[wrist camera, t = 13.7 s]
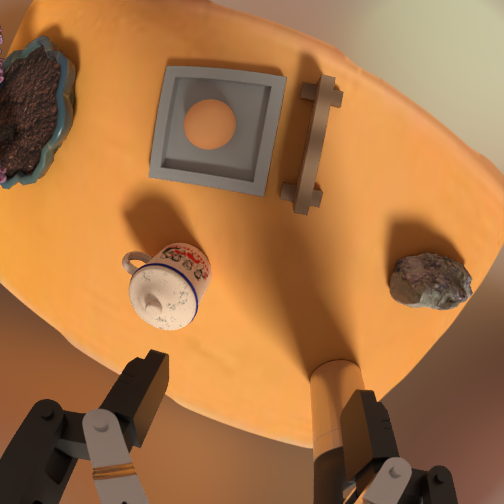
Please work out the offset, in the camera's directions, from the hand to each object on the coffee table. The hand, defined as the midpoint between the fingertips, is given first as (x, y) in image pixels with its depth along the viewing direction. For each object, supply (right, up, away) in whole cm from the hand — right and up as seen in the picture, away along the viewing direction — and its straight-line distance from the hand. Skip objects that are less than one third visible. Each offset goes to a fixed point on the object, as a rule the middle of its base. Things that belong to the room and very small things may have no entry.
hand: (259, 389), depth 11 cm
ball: (-5, +20, +19) cm, 28 cm away
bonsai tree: (-39, +27, +25) cm, 54 cm away
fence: (+7, +19, +22) cm, 30 cm away
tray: (-5, +21, +23) cm, 32 cm away
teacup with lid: (-11, +4, +30) cm, 33 cm away
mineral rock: (+26, +2, +27) cm, 37 cm away
